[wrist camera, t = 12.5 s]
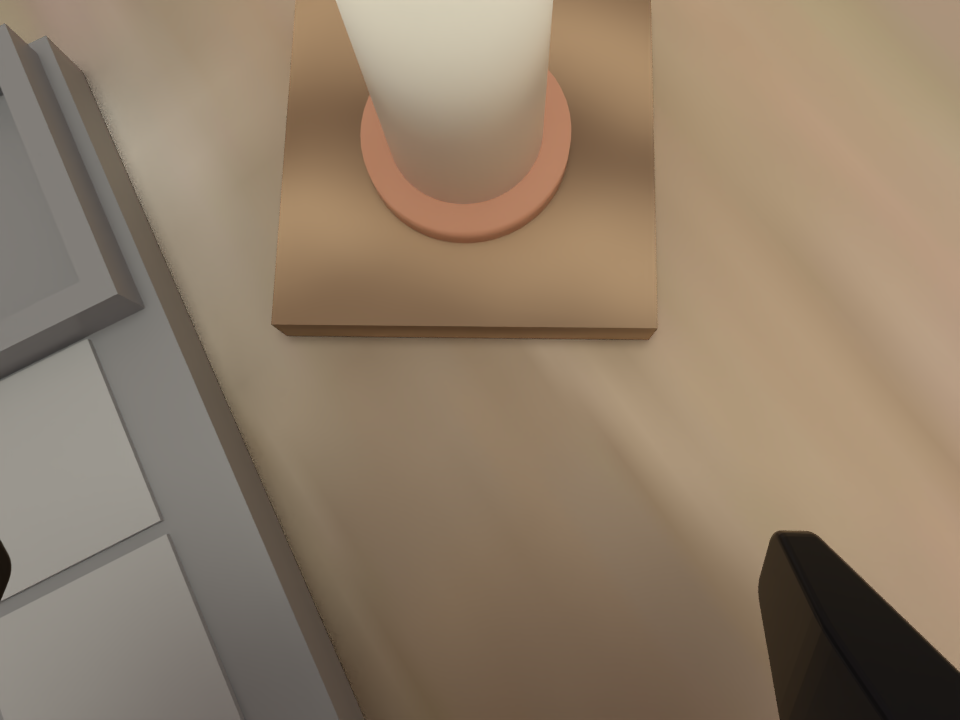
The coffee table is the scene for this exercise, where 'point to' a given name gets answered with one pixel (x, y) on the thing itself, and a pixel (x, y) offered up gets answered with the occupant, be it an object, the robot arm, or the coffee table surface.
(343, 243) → the walnut board
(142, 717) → the grey boxy piece
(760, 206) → the coffee table surface
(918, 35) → the coffee table surface
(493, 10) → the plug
